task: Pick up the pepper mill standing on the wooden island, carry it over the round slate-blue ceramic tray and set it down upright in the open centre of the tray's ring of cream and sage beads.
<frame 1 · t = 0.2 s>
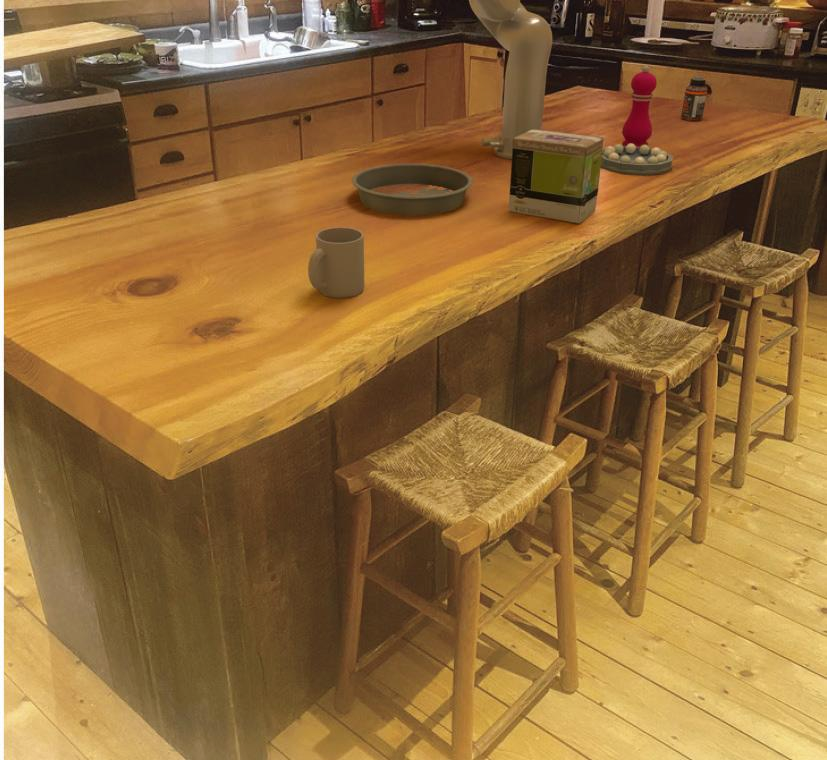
supplement bottle: (691, 120, 240), on the table
pepper mill: (634, 150, 209), on the table
tea box: (551, 212, 165), on the table
cake pan: (412, 201, 172), on the table
cup: (335, 293, 130), on the table
bead tray: (633, 165, 196), on the table
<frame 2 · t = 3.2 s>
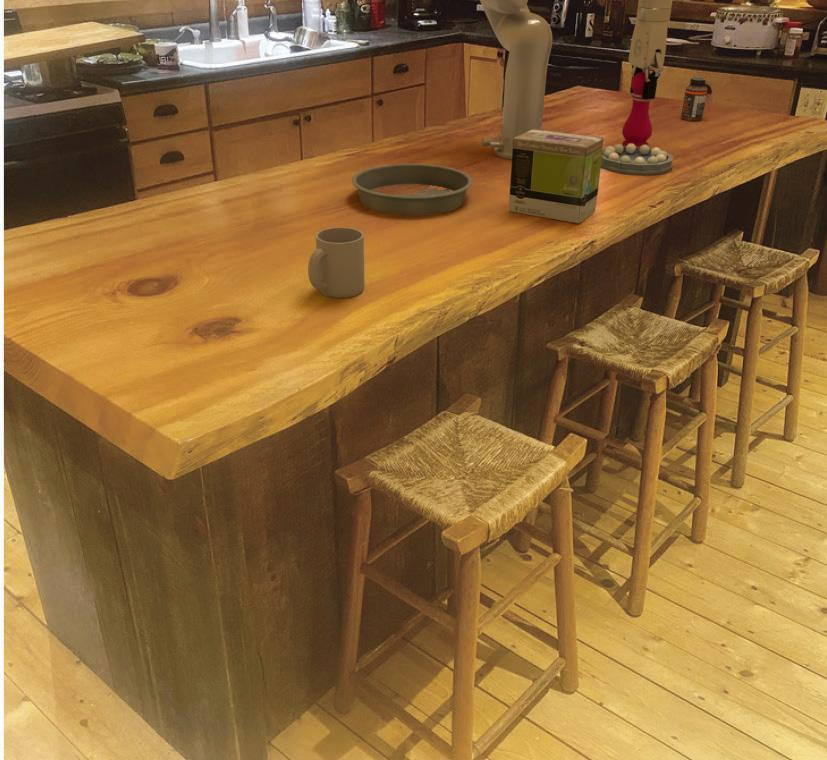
hand: (642, 95, 202), 13 cm above the table, tool pointing down, fingers closed on pepper mill, 6 cm apart
pepper mill: (634, 150, 209), on the table, touching gripper
everything else where it was.
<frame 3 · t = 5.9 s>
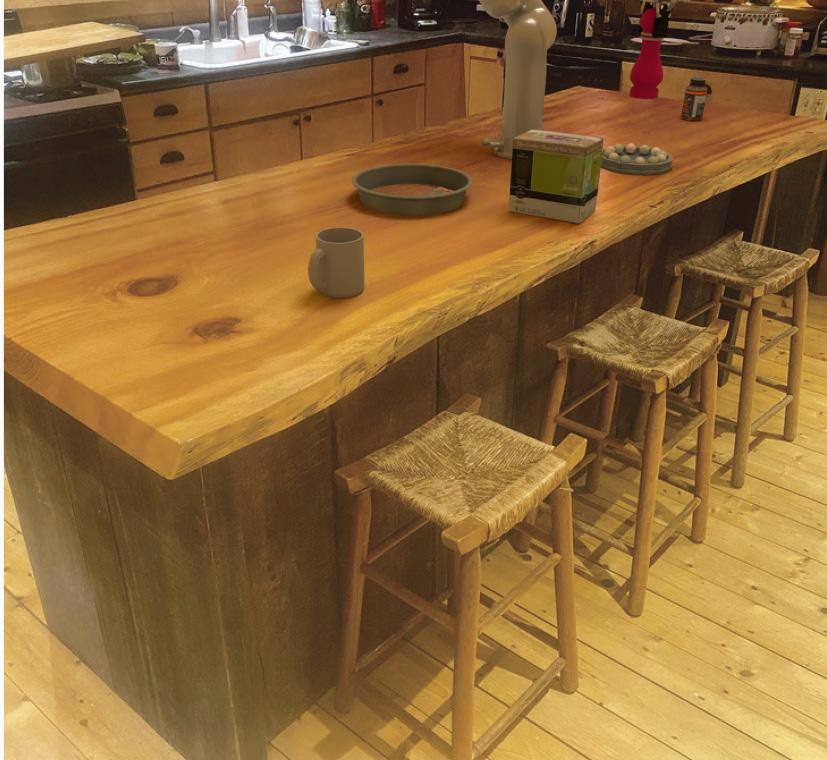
hand: (652, 34, 182), 29 cm above the table, tool pointing down, fingers closed on pepper mill, 6 cm apart
pepper mill: (643, 97, 188), point 15 cm above the table, touching gripper
everything else where it was.
when the fingers open (15 cm above the table, at t = 9.1 s): pepper mill stays where it is, resting on bead tray.
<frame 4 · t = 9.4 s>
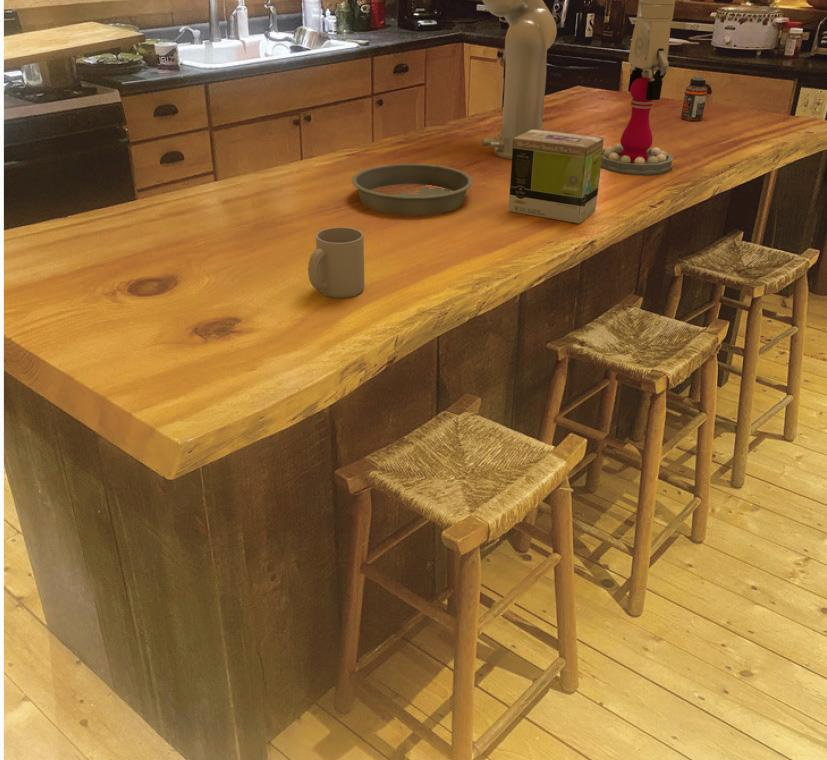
hand: (643, 95, 188), 16 cm above the table, tool pointing down, fingers open, 8 cm apart
pepper mill: (633, 160, 195), point 1 cm above the table, touching bead tray
everything else where it was.
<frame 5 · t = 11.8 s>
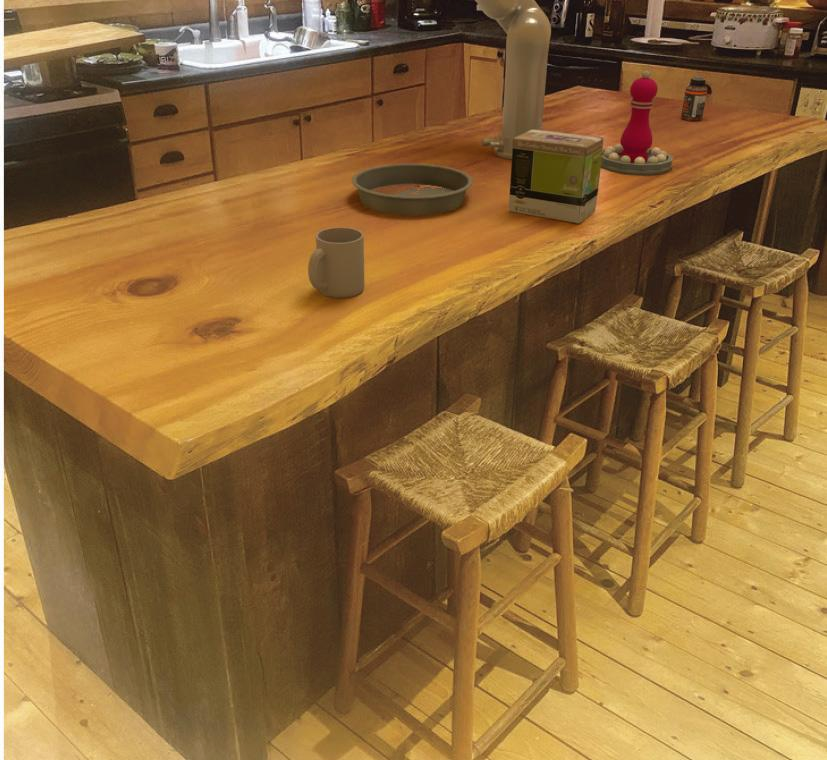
nothing on the table moved.
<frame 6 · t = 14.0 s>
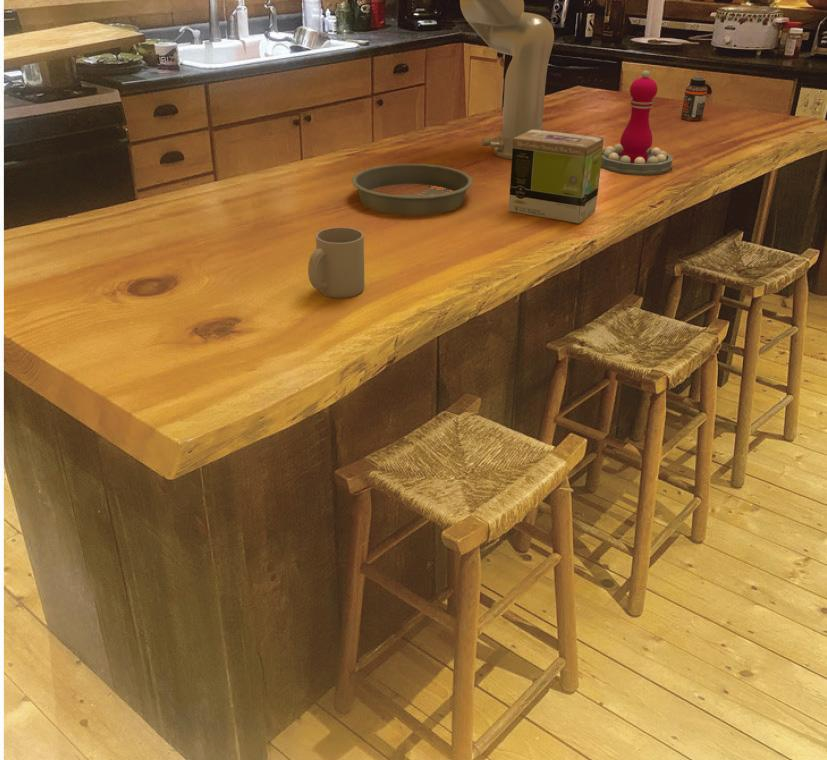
nothing on the table moved.
at the end: pepper mill 0.2 cm from the bead tray (horizontally); pepper mill tilted 0°; the gripper is holding nothing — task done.
